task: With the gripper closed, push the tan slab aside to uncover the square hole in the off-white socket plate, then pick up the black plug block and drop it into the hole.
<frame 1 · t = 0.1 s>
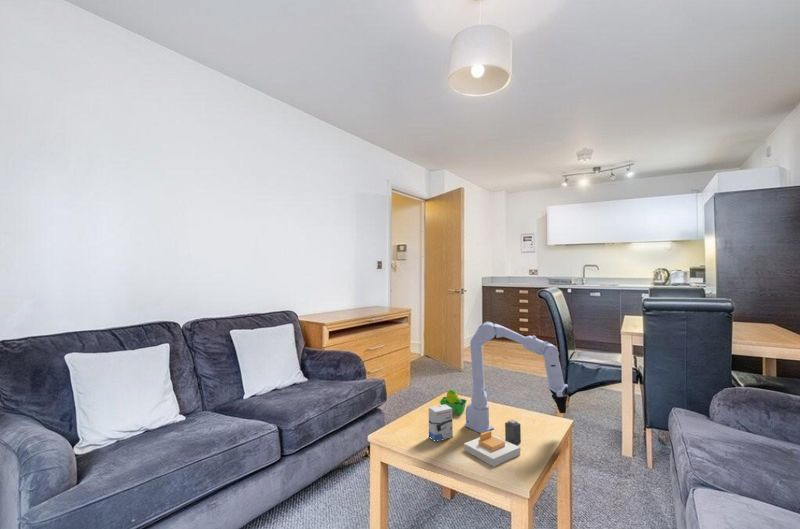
hand: (561, 409, 147), 11 cm above the table, tool pointing down, fingers open, 7 cm apart
ink box: (440, 438, 147), on the table
tan slab: (491, 440, 134), point 4 cm above the table, slide at 0.0 cm
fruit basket: (453, 412, 173), on the table
plug: (513, 441, 143), on the table
socket: (491, 452, 134), on the table
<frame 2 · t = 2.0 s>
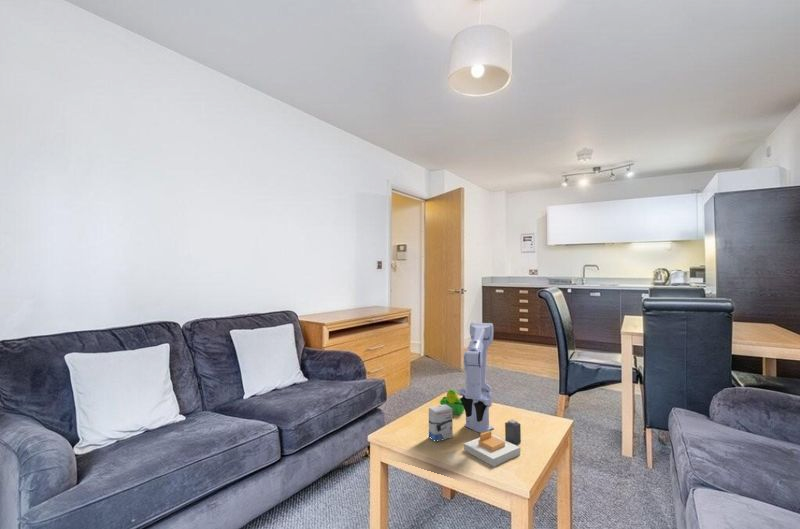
hand: (474, 418, 142), 9 cm above the table, tool pointing down, fingers open, 5 cm apart
nothing on the table moved.
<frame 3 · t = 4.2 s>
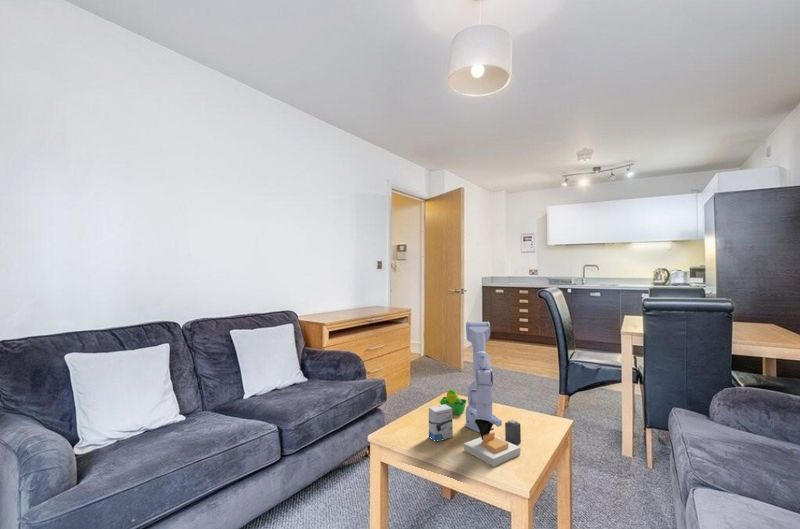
hand: (484, 439, 137), 3 cm above the table, tool pointing down, fingers closed
tan slab: (494, 441, 133), point 4 cm above the table, slide at 1.5 cm, touching gripper
everything else where it was.
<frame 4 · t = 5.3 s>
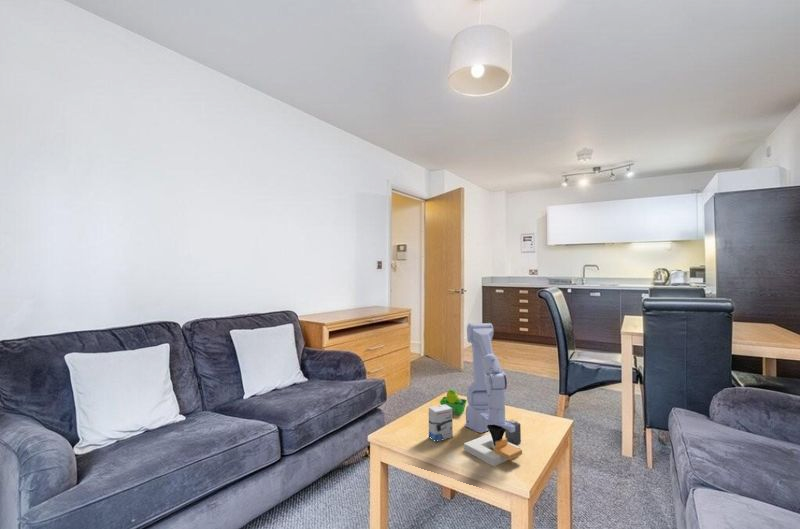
hand: (497, 445, 132), 3 cm above the table, tool pointing down, fingers closed
tan slab: (507, 448, 128), point 4 cm above the table, slide at 7.4 cm, touching gripper
everything else where it was.
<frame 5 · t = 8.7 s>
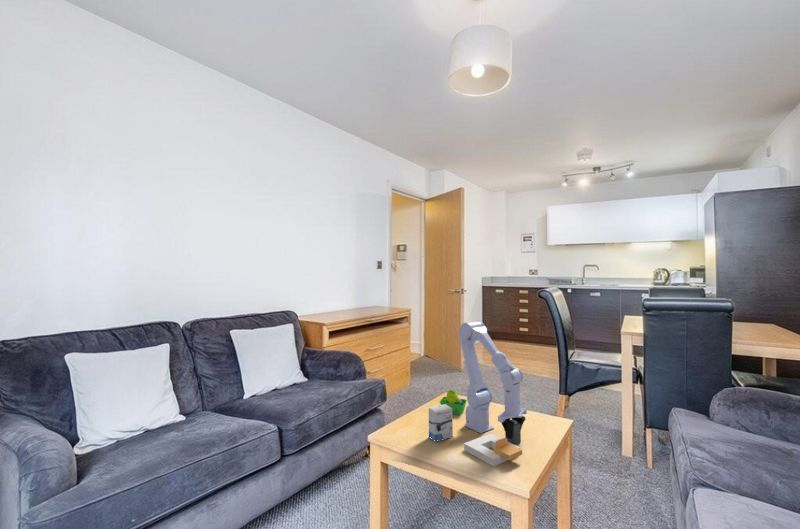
hand: (513, 436, 143), 2 cm above the table, tool pointing down, fingers closed on plug, 4 cm apart
tan slab: (508, 448, 128), point 4 cm above the table, slide at 7.4 cm
plug: (513, 441, 143), on the table, touching gripper
everything else where it was.
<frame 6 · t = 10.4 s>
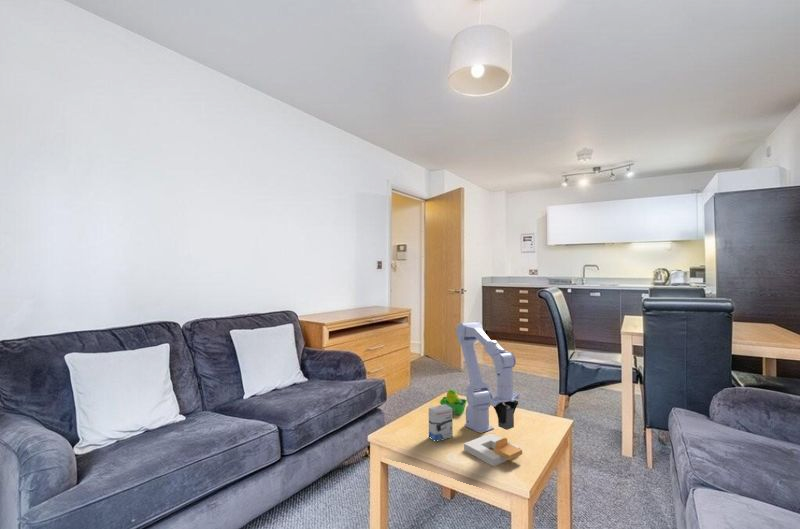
hand: (505, 421, 140), 9 cm above the table, tool pointing down, fingers closed on plug, 4 cm apart
plug: (506, 426, 140), point 7 cm above the table, touching gripper
everything else where it was.
when the fingers open (4 cm above the table, at t = 12.2 s): plug drops 2 cm, resting in socket.
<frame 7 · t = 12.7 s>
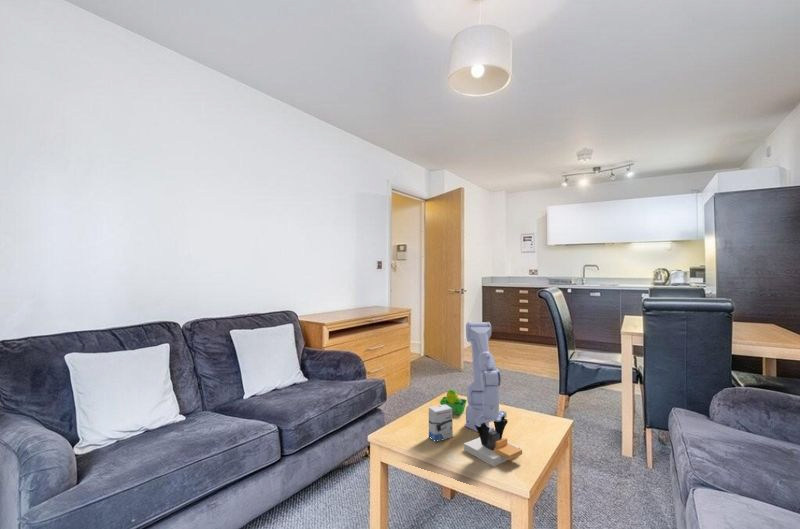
hand: (491, 441, 134), 4 cm above the table, tool pointing down, fingers open, 7 cm apart
plug: (492, 452, 134), resting in socket
everything else where it was.
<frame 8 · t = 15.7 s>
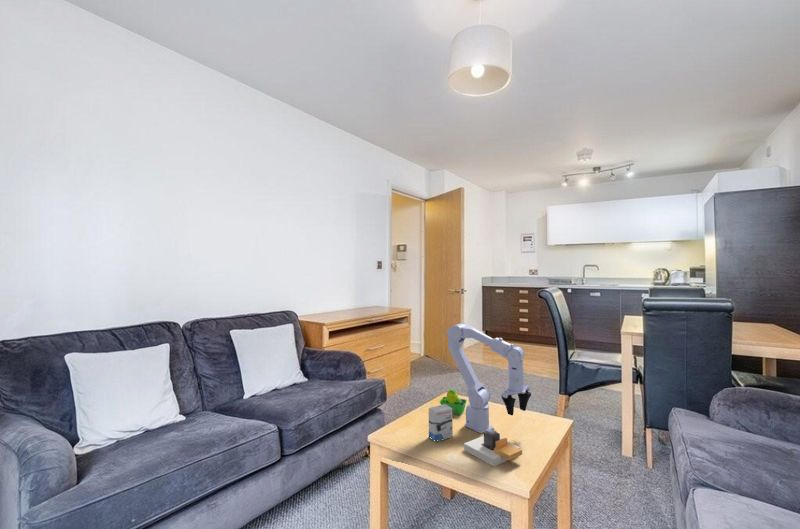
hand: (516, 412, 147), 9 cm above the table, tool pointing down, fingers open, 7 cm apart
nothing on the table moved.
at the end: plug 0.2 cm off-centre on the socket, point 0.0 cm above the socket's base; tan slab slide at 7.4 cm; plug tilted 0° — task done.
